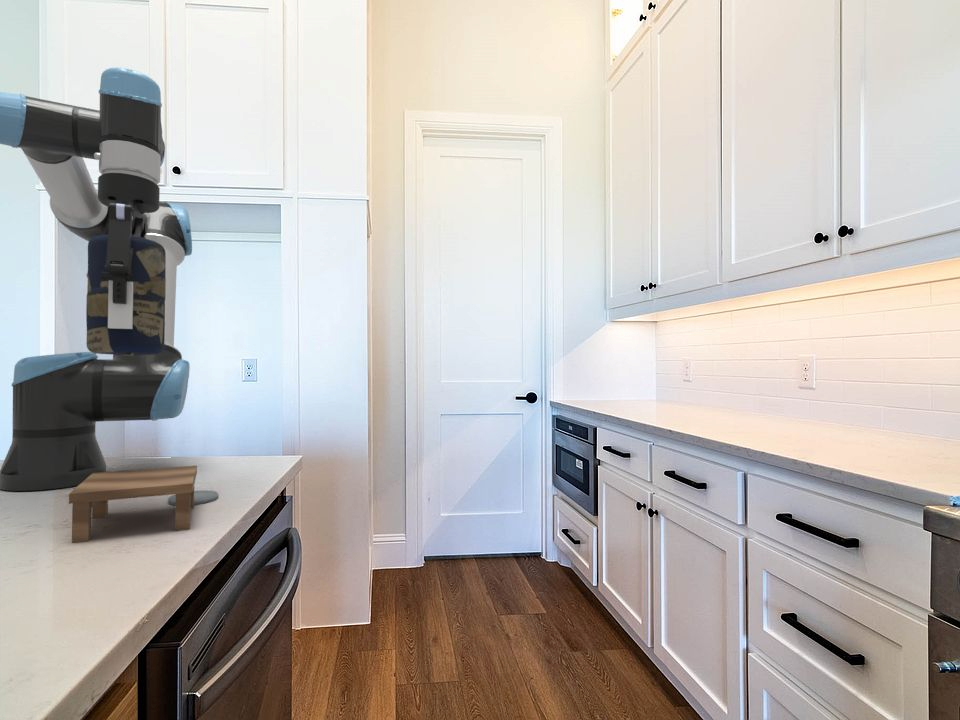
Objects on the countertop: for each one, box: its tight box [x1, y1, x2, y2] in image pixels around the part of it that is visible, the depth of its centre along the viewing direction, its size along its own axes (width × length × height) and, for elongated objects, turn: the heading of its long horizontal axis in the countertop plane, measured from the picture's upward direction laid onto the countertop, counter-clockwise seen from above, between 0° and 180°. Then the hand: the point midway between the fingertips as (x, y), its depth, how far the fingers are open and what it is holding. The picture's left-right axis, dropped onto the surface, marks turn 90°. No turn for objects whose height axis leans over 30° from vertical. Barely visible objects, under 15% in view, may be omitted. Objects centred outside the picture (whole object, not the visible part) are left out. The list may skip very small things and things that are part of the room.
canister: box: [85, 235, 166, 356], centre depth 76 cm, size 10×10×18 cm
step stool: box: [68, 465, 198, 544], centre depth 71 cm, size 13×13×6 cm
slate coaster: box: [167, 490, 219, 506], centre depth 83 cm, size 7×7×1 cm
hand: (127, 331), depth 76 cm, fingers closed on canister, 9 cm apart
